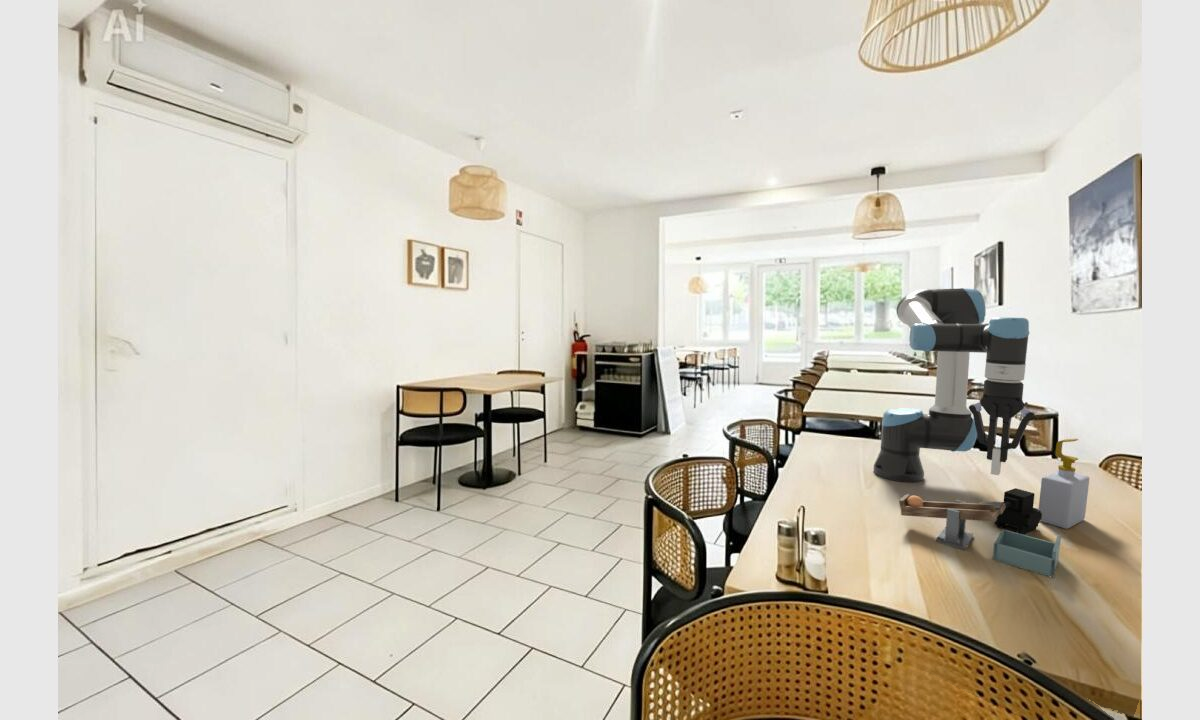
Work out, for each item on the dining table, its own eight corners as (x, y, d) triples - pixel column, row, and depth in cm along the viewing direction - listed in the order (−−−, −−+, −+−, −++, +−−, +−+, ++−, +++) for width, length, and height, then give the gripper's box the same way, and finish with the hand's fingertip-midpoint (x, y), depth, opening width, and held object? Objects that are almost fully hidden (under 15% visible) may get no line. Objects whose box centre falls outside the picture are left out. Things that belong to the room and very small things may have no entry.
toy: (980, 530, 130) (983, 494, 129) (1008, 519, 137) (1011, 485, 135) (1014, 542, 124) (1018, 504, 123) (1041, 530, 130) (1045, 494, 129)
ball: (908, 511, 131) (903, 498, 132) (912, 507, 133) (907, 494, 134) (923, 510, 128) (917, 496, 129) (927, 506, 131) (921, 493, 132)
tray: (992, 559, 116) (994, 535, 115) (1000, 544, 123) (1002, 521, 122) (1053, 577, 108) (1056, 552, 107) (1058, 560, 115) (1061, 536, 114)
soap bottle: (1067, 530, 130) (1077, 444, 127) (1036, 520, 136) (1044, 438, 133) (1085, 520, 136) (1095, 438, 133) (1054, 511, 142) (1063, 432, 139)
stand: (935, 541, 124) (938, 508, 123) (945, 529, 131) (948, 497, 130) (964, 550, 120) (967, 515, 119) (973, 537, 126) (976, 503, 125)
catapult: (901, 515, 131) (898, 500, 131) (914, 502, 139) (911, 488, 140) (997, 521, 116) (993, 505, 116) (1005, 507, 124) (1002, 491, 124)
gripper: (967, 379, 122) (960, 470, 125) (1037, 385, 113) (1027, 483, 115) (974, 376, 127) (966, 464, 130) (1041, 381, 118) (1031, 476, 120)
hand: (995, 473), depth 123 cm, fingers closed
